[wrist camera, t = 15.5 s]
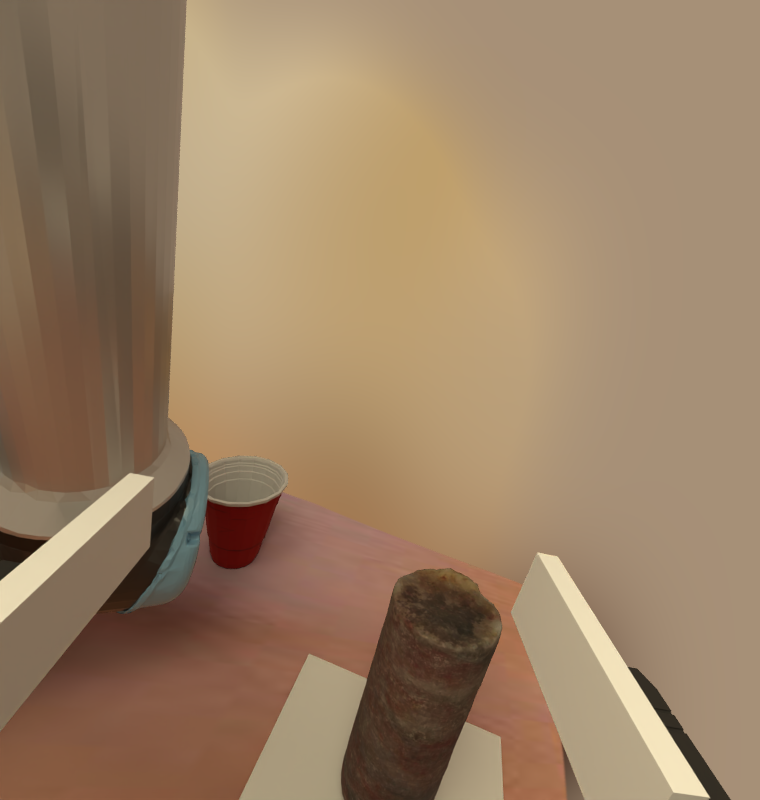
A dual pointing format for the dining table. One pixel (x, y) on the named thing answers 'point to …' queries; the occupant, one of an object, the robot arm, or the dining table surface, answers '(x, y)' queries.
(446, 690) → the brown rough cylinder
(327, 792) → the mat
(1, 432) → the robot arm
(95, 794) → the dining table surface
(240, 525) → the plastic cup
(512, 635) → the dining table surface
